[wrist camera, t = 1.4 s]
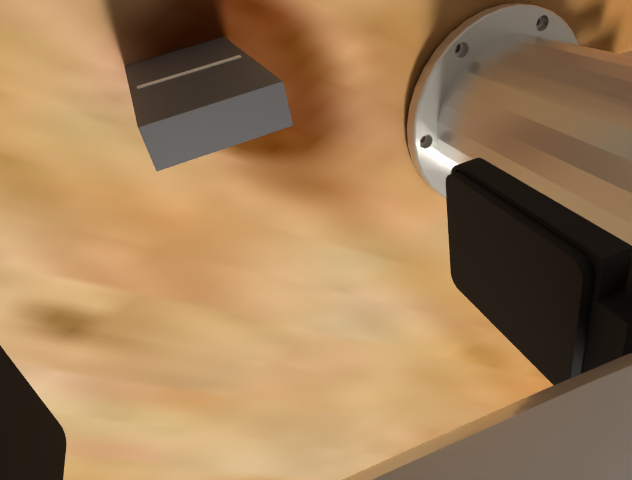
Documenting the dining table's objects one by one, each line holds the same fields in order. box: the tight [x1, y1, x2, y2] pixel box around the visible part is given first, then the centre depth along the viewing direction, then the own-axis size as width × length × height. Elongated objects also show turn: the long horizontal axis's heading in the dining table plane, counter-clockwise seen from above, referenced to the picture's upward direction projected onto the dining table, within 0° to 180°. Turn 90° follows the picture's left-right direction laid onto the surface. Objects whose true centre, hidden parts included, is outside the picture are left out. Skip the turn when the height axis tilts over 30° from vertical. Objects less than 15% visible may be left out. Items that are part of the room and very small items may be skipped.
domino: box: [125, 37, 293, 171], centre depth 21 cm, size 2×5×10 cm, turn 102°
